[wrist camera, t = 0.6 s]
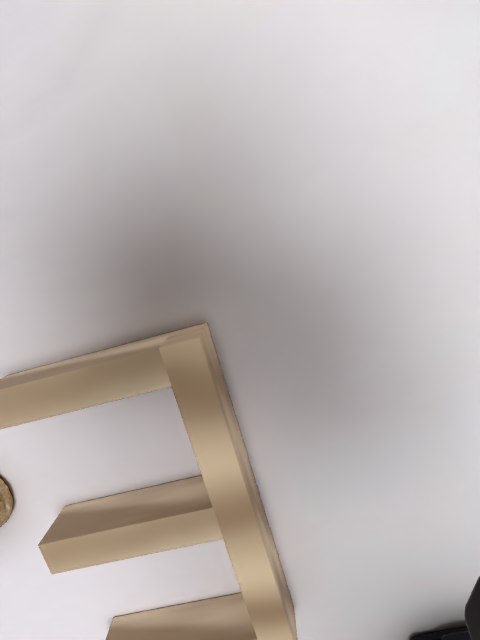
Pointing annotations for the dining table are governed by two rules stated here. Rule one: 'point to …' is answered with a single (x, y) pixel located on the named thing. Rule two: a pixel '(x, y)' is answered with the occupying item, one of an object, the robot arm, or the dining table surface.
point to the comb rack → (165, 488)
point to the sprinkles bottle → (5, 503)
